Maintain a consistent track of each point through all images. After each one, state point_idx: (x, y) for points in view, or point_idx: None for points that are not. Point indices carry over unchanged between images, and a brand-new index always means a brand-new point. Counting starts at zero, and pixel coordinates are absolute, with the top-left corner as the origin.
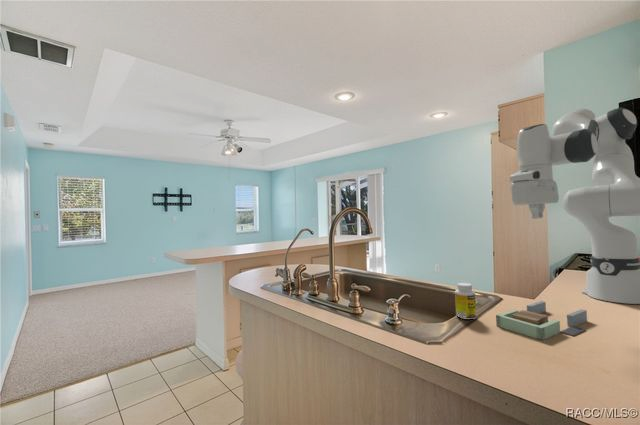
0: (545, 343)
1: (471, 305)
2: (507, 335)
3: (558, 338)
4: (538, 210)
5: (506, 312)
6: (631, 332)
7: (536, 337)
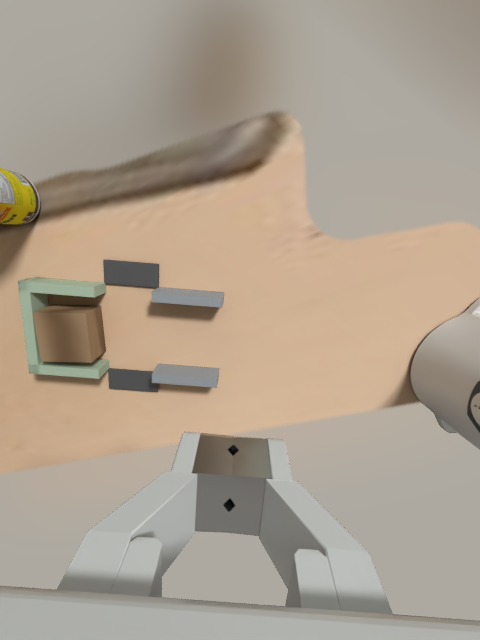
0: None
1: None
2: (10, 315)
3: None
4: (281, 531)
5: (57, 286)
6: None
7: None
